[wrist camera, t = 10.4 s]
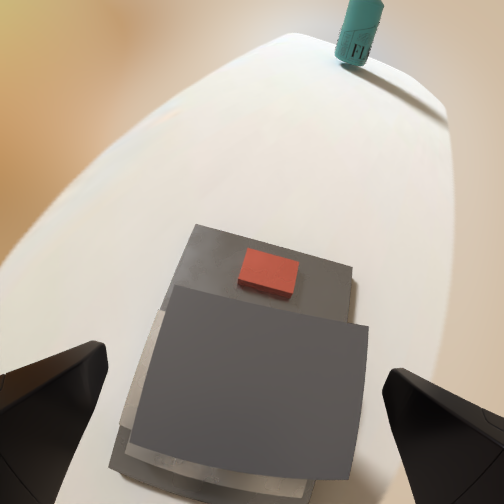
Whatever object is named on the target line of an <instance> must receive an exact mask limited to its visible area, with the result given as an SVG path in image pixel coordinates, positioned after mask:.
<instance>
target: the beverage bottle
mask: <svg viewBox="0 0 504 504" xmlns="http://www.w3.org/2000/svg"><path fill="white" fill-rule="evenodd" d="M383 8H384V4H383V3H382V1H381V0H350V1H349V5H348V8H347V12H346V16H345V20H344V23H343V26H342V29H341V33H340V36H339V40H338V43H337V47H335V48H336V50H335V56H336V57H337V58H338V59H340V60H341V61H344V62H346V63H348V64H351V65H355V66H364V64H365V62H366V60H367V58H368V56H369V51H370V50H371V49H370V48H371V44H372V42H373V39H374V36H375V33H376V30H377V27H378V24H379V23H380V22H379V21H380V17H381V14H382V10H383Z"/></svg>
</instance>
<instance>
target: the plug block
mask: <svg viewBox="0 0 504 504" xmlns="http://www.w3.org/2000/svg"><path fill="white" fill-rule="evenodd" d="M368 331H369V326H363V325H358V324H352V323H346V322H341V321H336V320H330V319H325V318H320V317H315V316H310V315H305V314H300V313H295V312H290V311H285V310H280V309H276V308H271V307H266V306H262V305H257V304H253V303H249V302H244V301H240V300H236V299H231V298H227V297H223V296H219V295H215V294H210V293H206V292H202V291H198V290H194V289H190V288H186V287H183V286H179V285H174V288H173V291H172V294H171V297H170V300H169V303H168V306H167V309H166V312H165V315H164V318H163V321H162V324H161V328H160V331H159V334H158V337H157V340H156V344H155V347H154V350H153V354H152V357H151V361H150V364H149V368H148V371H147V375H146V378H145V382H144V385H143V389H142V393H141V396H140V400H139V404H138V408H137V412H136V416H135V420H134V424H133V428H132V432H131V436H130V441H129V443H132V444H135V445H137V446H140V447H143V448H146V449H149V450H152V451H155V452H158V453H161V454H164V455H168V456H171V457H175V458H178V459H182V460H185V461H189V462H193V463H197V464H201V465H206V466H210V467H215V468H220V469H225V470H230V471H236V472H241V473H248V474H255V475H262V476H271V477H280V478H292V479H310V480H349V475H350V471H351V466H352V461H353V456H354V451H355V446H356V440H357V434H358V428H359V421H360V415H361V407H362V400H363V391H364V382H365V372H366V361H367V348H368Z"/></svg>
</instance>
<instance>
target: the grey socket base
mask: <svg viewBox="0 0 504 504" xmlns="http://www.w3.org/2000/svg"><path fill="white" fill-rule="evenodd" d="M352 268H353V267H350V266H347V265H343V264H340V263H336V262H333V261H329V260H326V259H322V258H319V257H315V256H311V255H308V254H304V253H301V252H297V251H294V250H290V249H286V248H283V247H279V246H276V245H272V244H268V243H265V242H261V241H257V240H254V239H250V238H246V237H243V236H239V235H235V234H232V233H228V232H224V231H220V230H217V229H213V228H209V227H206V226H202V225H198V224H196V225H195V227H194V229H193V231H192V234H191V236H190V238H189V240H188V243H187V245H186V247H185V250H184V252H183V254H182V257H181V259H180V261H179V264H178V266H177V269H176V271H175V273H174V276H173V278H172V281H171V283H170V286H169V288H168V291H167V293H166V296H165V298H164V301H163V303H162V306H161V308H160V310H159V309H158V312H157V315H156V317H155V320H154V322H153V325H152V328H151V330H150V333H149V336H148V339H147V341H146V344H145V347H144V349H143V352H142V355H141V358H140V361H139V364H138V366H137V369H136V372H135V375H134V378H133V381H132V384H131V387H130V390H129V393H128V396H127V399H126V402H125V406H124V409H123V412H122V415H121V419H120V422H119V425H120V427H119V431H118V434H117V438H116V441H115V445H114V448H113V452H112V455H111V459H110V463H109V467H108V468H110V469H113V470H115V471H117V472H119V473H121V474H124V475H126V476H128V477H131V478H133V479H135V480H138V481H140V482H143V483H146V484H148V485H151V486H154V487H156V488H159V489H162V490H165V491H168V492H171V493H174V494H177V495H180V496H184V497H187V498H191V499H194V500H198V501H202V502H206V503H210V504H308V503H309V500H310V497H311V494H312V490H313V487H314V484H315V480H310V479H292V478H280V477H271V476H262V475H255V474H248V473H241V472H236V471H230V470H225V469H220V468H215V467H210V466H206V465H201V464H197V463H193V462H189V461H185V460H182V459H178V458H175V457H171V456H168V455H164V454H161V453H158V452H155V451H152V450H149V449H146V448H143V447H140V446H137V445H135V444H132V443H129V441H130V436H131V432H132V428H133V424H134V420H135V416H136V412H137V408H138V404H139V400H140V396H141V393H142V389H143V385H144V382H145V378H146V375H147V371H148V368H149V364H150V361H151V357H152V354H153V350H154V347H155V344H156V340H157V337H158V334H159V331H160V328H161V324H162V321H163V318H164V315H165V312H166V309H167V306H168V303H169V300H170V297H171V294H172V291H173V288H174V285H179V286H183V287H186V288H190V289H194V290H198V291H202V292H206V293H210V294H215V295H219V296H223V297H227V298H231V299H236V300H240V301H244V302H249V303H253V304H257V305H262V306H266V307H271V308H276V309H280V310H285V311H290V312H295V313H300V314H305V315H310V316H315V317H320V318H325V319H330V320H336V321H341V322H346V323H347V319H348V311H349V301H350V291H351V280H352Z"/></svg>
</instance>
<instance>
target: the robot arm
mask: <svg viewBox="0 0 504 504" xmlns="http://www.w3.org/2000/svg"><path fill="white" fill-rule="evenodd" d="M107 372H108V359H107V352H106V346H105V344H104V343H102V342H98V341H89V342H87V343H84V344H82V345H79V346H77V347H74V348H72V349H69V350H66V351H64V352H61V353H59V354H56V355H53V356H51V357H48V358H45V359H43V360H40V361H38V362H35V363H32V364H30V365H27V366H24V367H22V368H19V369H16V370H13V371H11V372H8V373H6V375H5V374H2V375H0V504H54V503H55V500H56V498H57V495H58V492H59V490H60V487H61V485H62V482H63V480H64V477H65V475H66V472H67V470H68V467H69V465H70V463H71V460H72V458H73V456H74V453H75V451H76V449H77V447H78V444H79V442H80V440H81V438H82V435H83V433H84V431H85V429H86V427H87V425H88V422H89V420H90V418H91V416H92V414H93V412H94V409H95V406H96V404H97V401H98V398H99V395H100V392H101V389H102V386H103V383H104V380H105V378H106V375H107ZM382 395H383V399H384V403H385V407H386V411H387V415H388V419H389V423H390V427H391V430H392V433H393V436H394V439H395V442H396V445H397V448H398V451H399V453H400V456H401V459H402V462H403V465H404V468H405V471H406V474H407V477H408V480H409V483H410V487H411V490H412V493H413V496H414V500H415V503H416V504H504V418H503V417H501V416H498V415H496V414H494V413H492V412H490V411H488V410H486V409H483V408H481V407H479V406H477V405H475V404H473V403H471V402H469V401H467V400H465V399H463V398H461V397H459V396H457V395H454V394H453V393H451V392H449V391H447V390H445V389H443V388H441V387H439V386H437V385H435V384H433V383H431V382H429V381H427V380H425V379H423V378H421V377H419V376H417V375H416V374H414V373H412V372H410V371H408V370H406V369H404V368H394V369H392V370H391V371H390V373H389V375H388V377H387V379H386V382H385V384H384V386H383V389H382Z"/></svg>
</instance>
